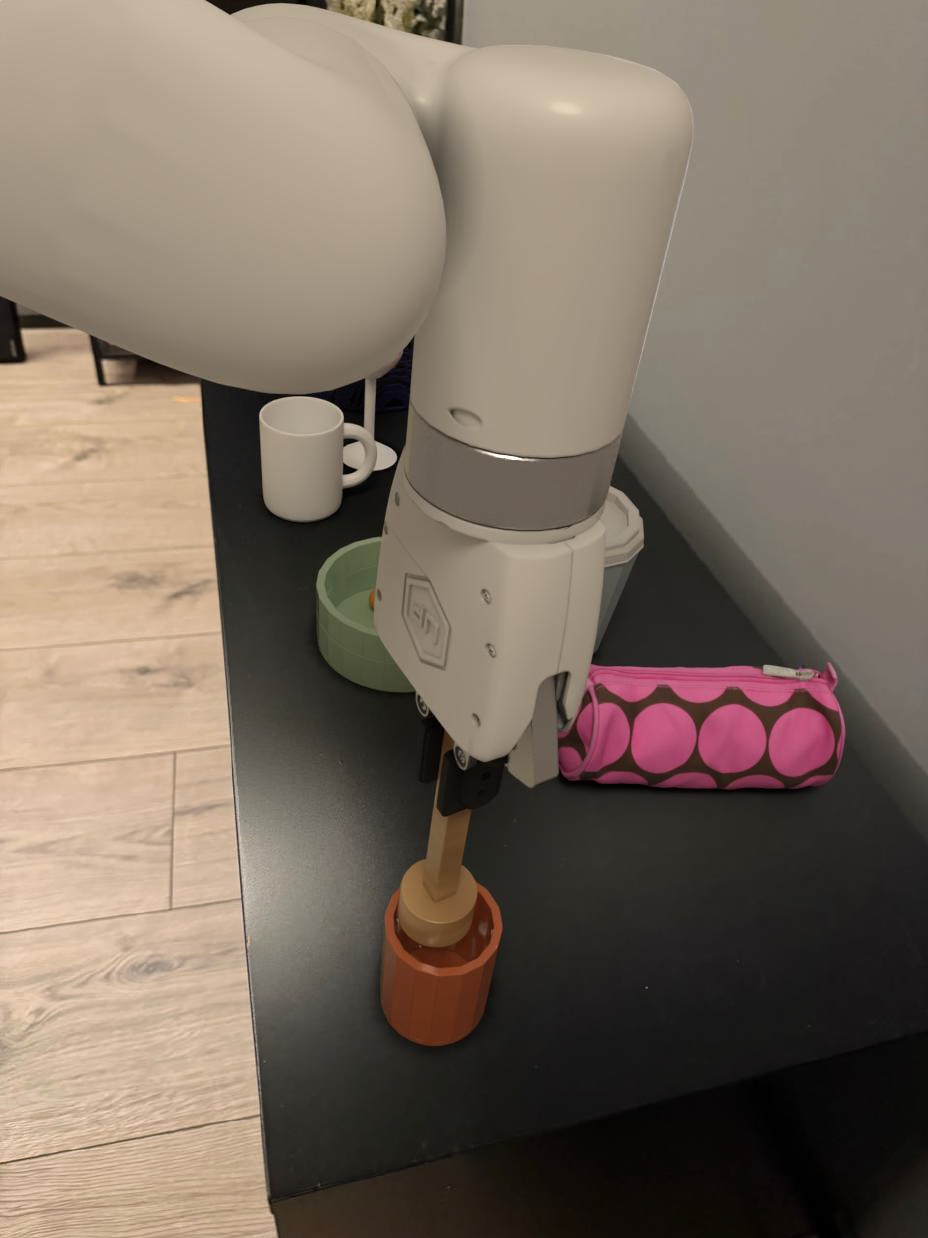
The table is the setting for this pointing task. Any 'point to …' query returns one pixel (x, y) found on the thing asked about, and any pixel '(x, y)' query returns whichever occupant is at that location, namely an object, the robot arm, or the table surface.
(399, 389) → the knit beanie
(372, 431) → the champagne flute
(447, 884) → the wooden post with base
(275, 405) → the mug
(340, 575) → the bowl
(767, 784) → the pencil case
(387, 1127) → the table surface
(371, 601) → the ball
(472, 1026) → the crock
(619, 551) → the disposable coffee cup
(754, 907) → the table surface
